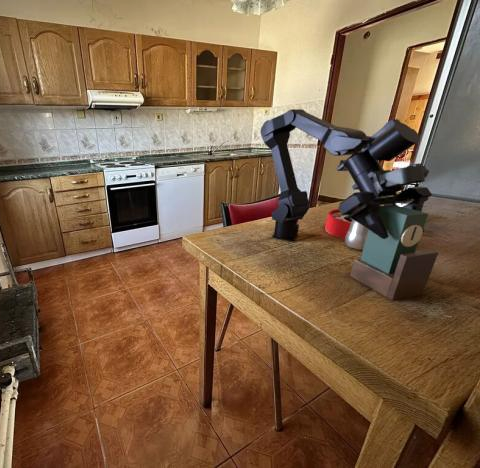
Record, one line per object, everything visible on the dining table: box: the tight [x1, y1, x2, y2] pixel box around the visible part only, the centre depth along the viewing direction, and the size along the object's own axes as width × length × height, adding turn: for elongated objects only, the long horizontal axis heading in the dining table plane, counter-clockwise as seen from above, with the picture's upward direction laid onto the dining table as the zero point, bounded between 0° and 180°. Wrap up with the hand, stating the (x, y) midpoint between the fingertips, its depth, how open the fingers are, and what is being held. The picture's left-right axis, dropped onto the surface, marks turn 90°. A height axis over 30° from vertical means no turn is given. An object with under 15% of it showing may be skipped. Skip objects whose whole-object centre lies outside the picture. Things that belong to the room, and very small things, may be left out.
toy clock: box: [324, 208, 352, 240], centre depth 87 cm, size 20×6×20 cm
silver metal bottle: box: [344, 205, 383, 251], centre depth 73 cm, size 6×7×20 cm
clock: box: [360, 205, 429, 274], centre depth 55 cm, size 8×5×13 cm, turn 10°
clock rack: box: [349, 249, 439, 301], centre depth 57 cm, size 10×8×10 cm
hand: (403, 235), depth 53 cm, fingers open, 9 cm apart
